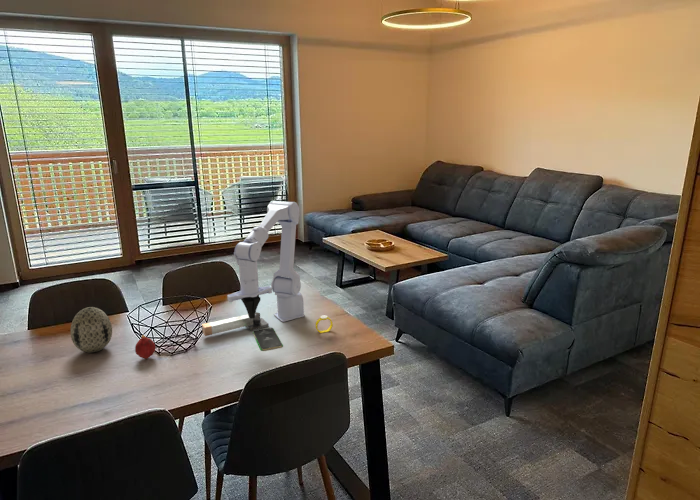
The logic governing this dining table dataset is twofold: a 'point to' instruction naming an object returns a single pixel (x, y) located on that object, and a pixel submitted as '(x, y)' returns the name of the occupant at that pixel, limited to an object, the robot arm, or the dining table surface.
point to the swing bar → (229, 324)
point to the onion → (145, 347)
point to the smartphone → (267, 339)
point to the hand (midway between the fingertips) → (251, 317)
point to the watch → (324, 319)
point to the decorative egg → (91, 330)
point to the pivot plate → (258, 325)
